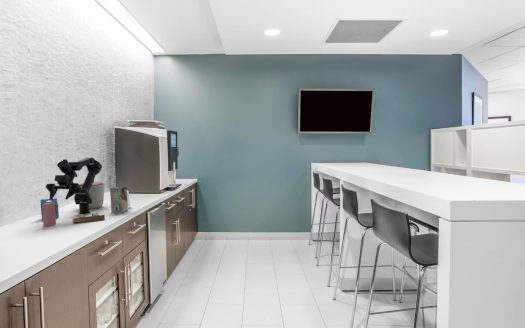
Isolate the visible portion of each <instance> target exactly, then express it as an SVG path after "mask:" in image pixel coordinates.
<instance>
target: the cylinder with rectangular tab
mask: <svg viewBox="0 0 525 328" xmlns="http://www.w3.org/2000/svg"><path fill="white" fill-rule="evenodd" d="M130 200H131V199H130V190H127V205H128V209H129V208H131V201H130Z"/></svg>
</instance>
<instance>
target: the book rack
mask: <svg viewBox="0 0 525 328" xmlns="http://www.w3.org/2000/svg"><path fill="white" fill-rule="evenodd" d="M77 216H78V217H74V218H72V222H73V224H74V225H75V224H82V223H90V222H99V221H104V220H105V219H106V216H105V214H99V213H98V212H92V213H91V215H89V216H86V214H78V215H77Z"/></svg>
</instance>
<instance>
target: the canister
mask: <svg viewBox="0 0 525 328" xmlns="http://www.w3.org/2000/svg"><path fill="white" fill-rule="evenodd" d="M83 184H84V182H82V183H80V184H79V185H80V187H81V188H82V186H83ZM105 186H106V183H104V182H100V181H95V180H94V181H93V183H92V186H91V188H90V190H89V193H90V197H91V199H92V203H91V204H89V210H93V209H99V208H102V207H103V205H104V201H105V199H104V198H105Z"/></svg>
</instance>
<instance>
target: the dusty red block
mask: <svg viewBox="0 0 525 328" xmlns="http://www.w3.org/2000/svg"><path fill="white" fill-rule="evenodd" d="M48 202H49V203H45V204H42V210H43V220H42V223H43V225H42V227H44V228H49V227H53V226H54V225H56V224H57V220H56V219H57V218H56V216H55V202H51V201H48Z"/></svg>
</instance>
